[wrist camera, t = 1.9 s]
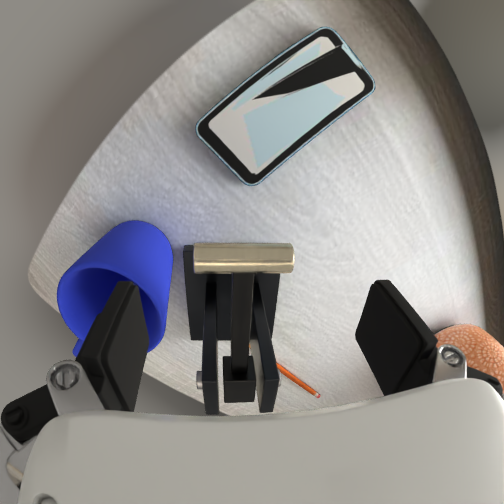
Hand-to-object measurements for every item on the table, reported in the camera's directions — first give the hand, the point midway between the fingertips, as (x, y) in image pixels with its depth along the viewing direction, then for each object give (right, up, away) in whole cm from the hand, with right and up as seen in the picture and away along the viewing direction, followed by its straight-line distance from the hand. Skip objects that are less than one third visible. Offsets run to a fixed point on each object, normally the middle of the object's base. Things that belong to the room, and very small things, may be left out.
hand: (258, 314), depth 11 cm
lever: (-1, -2, +7) cm, 8 cm away
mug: (-12, +1, +15) cm, 20 cm away
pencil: (+5, -14, +25) cm, 29 cm away
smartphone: (+3, +15, +10) cm, 18 cm away
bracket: (-2, -2, +18) cm, 18 cm away
